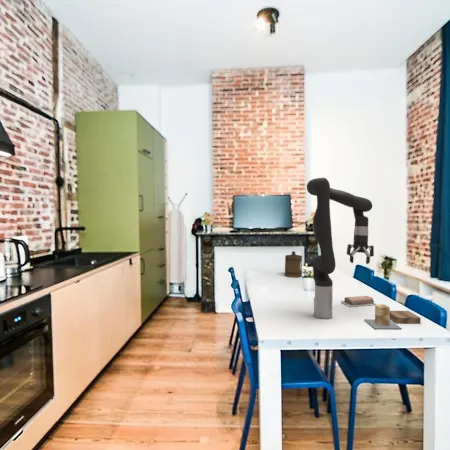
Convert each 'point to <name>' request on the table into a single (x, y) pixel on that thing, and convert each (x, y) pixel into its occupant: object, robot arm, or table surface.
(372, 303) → the packaged product
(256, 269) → the table surface
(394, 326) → the mat
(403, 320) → the walnut ledge
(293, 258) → the wooden container
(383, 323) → the maple block
